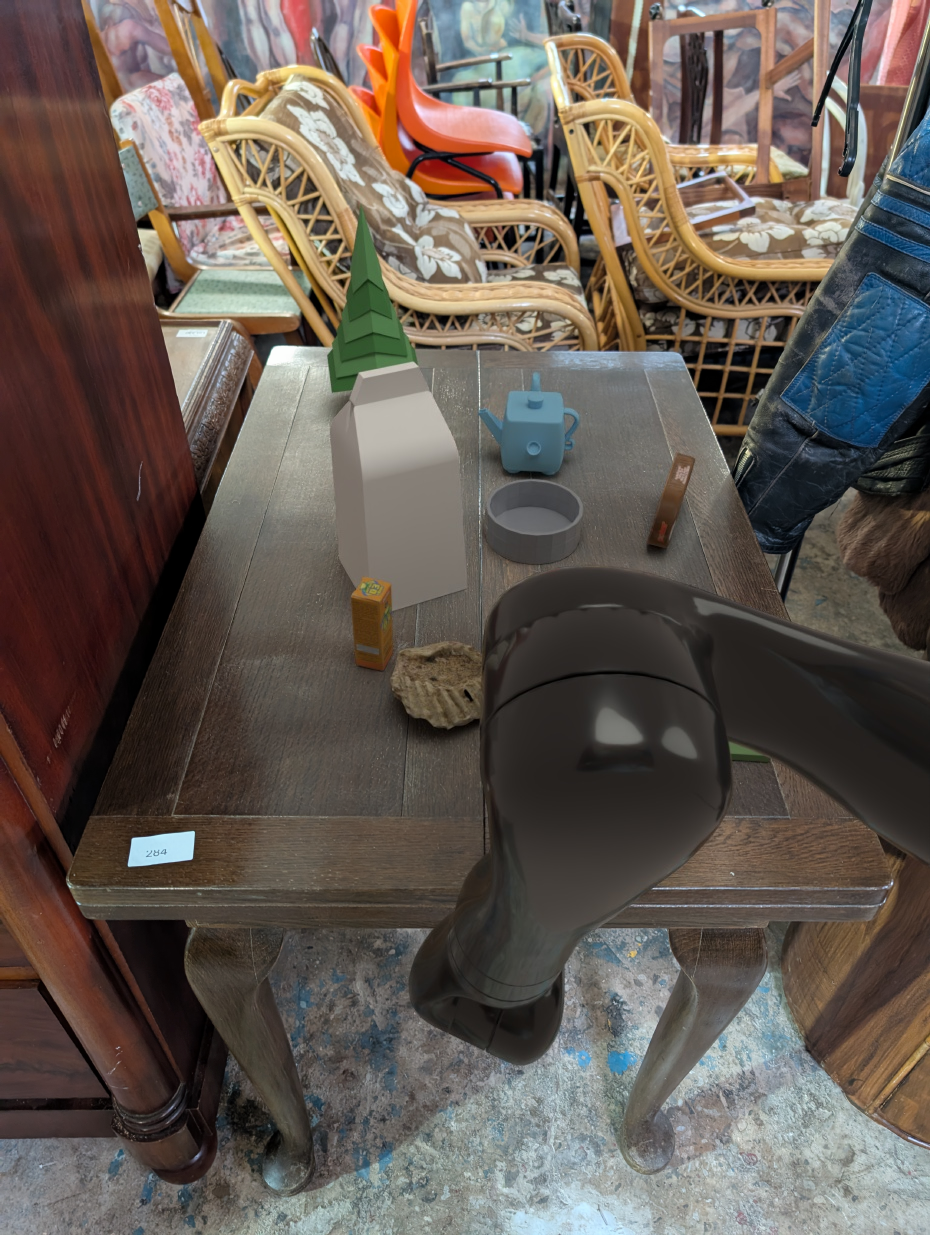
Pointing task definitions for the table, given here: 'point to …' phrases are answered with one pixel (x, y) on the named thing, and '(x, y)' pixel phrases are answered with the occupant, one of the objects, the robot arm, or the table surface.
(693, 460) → the tin
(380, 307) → the decorative tree
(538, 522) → the pan
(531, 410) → the teapot
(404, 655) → the seashell
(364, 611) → the supplement box
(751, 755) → the green rectangular slab
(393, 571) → the milk
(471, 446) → the table surface
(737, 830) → the table surface
